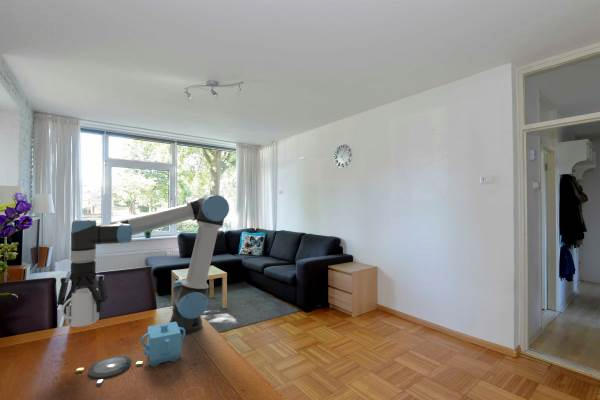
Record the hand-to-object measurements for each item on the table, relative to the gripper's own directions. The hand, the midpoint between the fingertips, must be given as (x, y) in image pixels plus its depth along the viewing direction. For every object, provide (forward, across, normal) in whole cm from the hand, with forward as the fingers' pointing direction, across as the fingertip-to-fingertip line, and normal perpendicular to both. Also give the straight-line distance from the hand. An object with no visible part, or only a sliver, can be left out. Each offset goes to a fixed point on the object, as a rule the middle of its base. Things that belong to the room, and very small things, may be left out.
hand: (82, 321), depth 110 cm
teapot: (+15, -30, +6) cm, 34 cm away
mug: (+1, +1, 0) cm, 1 cm away
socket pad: (+15, -12, +9) cm, 21 cm away
